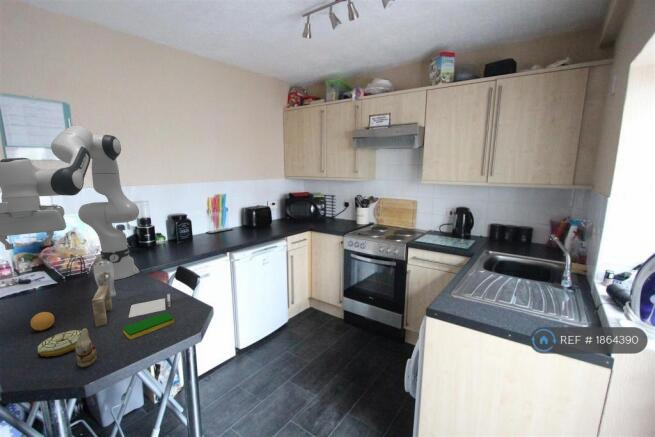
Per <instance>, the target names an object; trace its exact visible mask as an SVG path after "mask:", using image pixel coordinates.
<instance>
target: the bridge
mask: <svg viewBox="0 0 655 437" xmlns="http://www.w3.org/2000/svg"><path fill="white" fill-rule="evenodd" d="M91 304H92V311H93V317H94V323H95V327H100V326H106V325H107V324H108V318H107V312H108V311H112V310H113V303H112V297H111V295H110V288H109V285H105V286H99V288H98V289H97V291H96V292H95V294H94V296H93V298H92V299H91Z"/></svg>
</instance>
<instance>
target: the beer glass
mask: <svg viewBox="0 0 655 437" xmlns="http://www.w3.org/2000/svg"><path fill="white" fill-rule="evenodd" d="M92 266H93V276H94V277H93V278H94V280H95V283H96V285H97V287H98V288H99V286H105V285H109V288H110V295H111V298H113V297H115V296H116V295H117V292H116V290H115V280H114V268H113V264H112V261H102V262H100V261H98V262H94V263H93V265H92Z"/></svg>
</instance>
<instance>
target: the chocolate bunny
mask: <svg viewBox="0 0 655 437" xmlns="http://www.w3.org/2000/svg"><path fill="white" fill-rule="evenodd" d="M80 331H81V334H80V336H79V337H78V340H77V343H76V348H75V349H74V351H75V354H76V355H75V357H76V362H77V363H76V364H77V366H79V367H80V368H87V367H89V366H91V365H93V364H94V363H95V361H97V360H98V351H97V349H96V346H94V345H93V342H92V340H91V338H90V337H89V336H90V335H89V331H88V329H87V328H86V327H85V328H82V330H80Z"/></svg>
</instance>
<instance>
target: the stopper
mask: <svg viewBox="0 0 655 437" xmlns="http://www.w3.org/2000/svg"><path fill="white" fill-rule="evenodd" d="M166 297H167V298H166V300H167V308H171V307H172V303H171V302H172V301H171V300H170V299H171V294H170V293H167V295H166Z"/></svg>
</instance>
